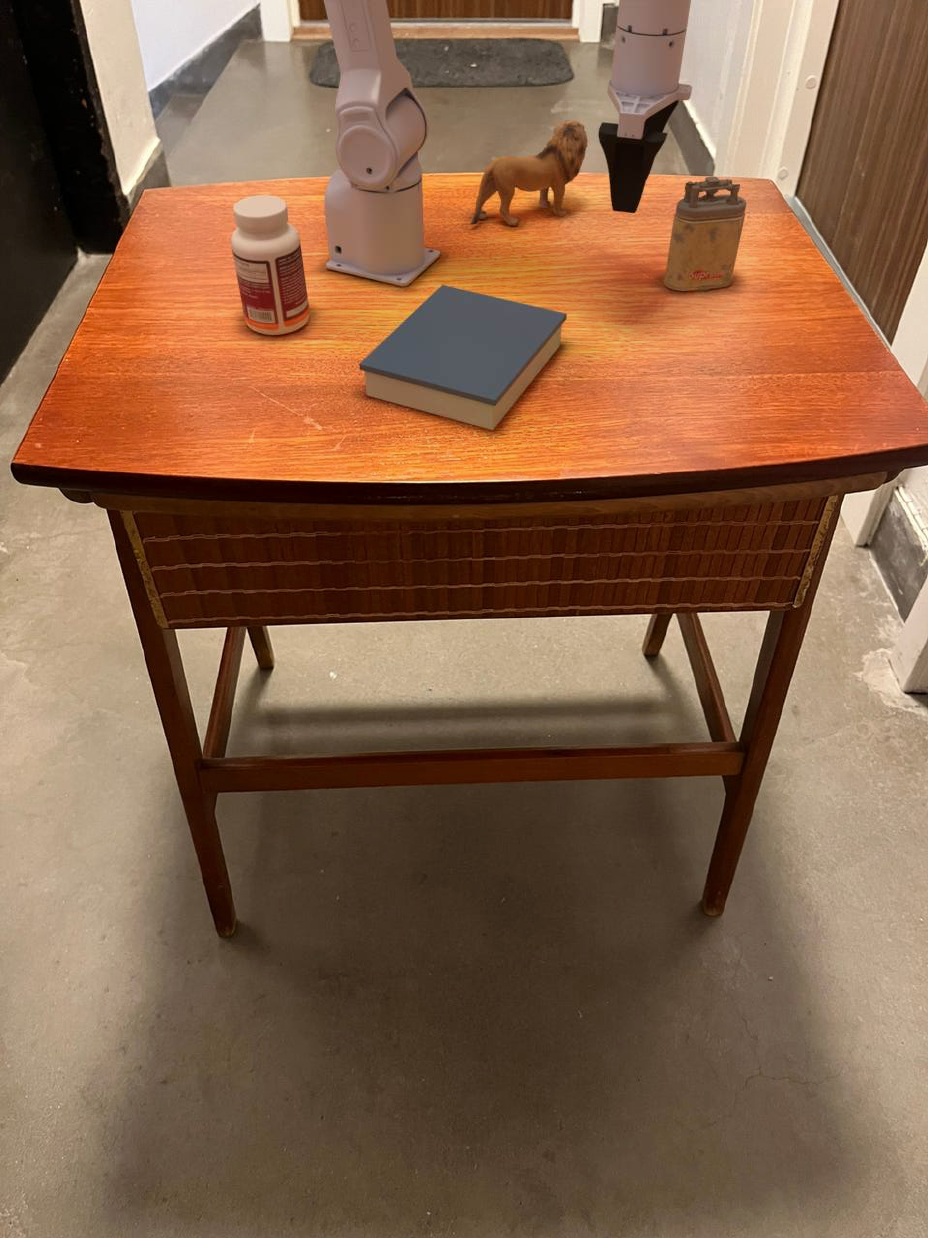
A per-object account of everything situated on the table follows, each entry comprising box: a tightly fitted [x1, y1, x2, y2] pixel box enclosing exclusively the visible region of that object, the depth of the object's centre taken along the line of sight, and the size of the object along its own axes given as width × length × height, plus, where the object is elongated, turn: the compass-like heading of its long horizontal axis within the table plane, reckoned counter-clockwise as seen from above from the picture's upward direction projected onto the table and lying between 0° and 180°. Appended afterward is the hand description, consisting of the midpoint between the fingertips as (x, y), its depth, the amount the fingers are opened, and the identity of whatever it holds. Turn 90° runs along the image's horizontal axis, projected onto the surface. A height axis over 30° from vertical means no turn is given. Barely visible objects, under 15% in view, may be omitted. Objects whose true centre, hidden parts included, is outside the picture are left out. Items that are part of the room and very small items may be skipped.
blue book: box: [358, 284, 568, 431], centre depth 86 cm, size 13×16×3 cm
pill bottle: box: [230, 194, 311, 336], centre depth 90 cm, size 6×6×11 cm
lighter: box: [662, 176, 747, 292], centre depth 96 cm, size 7×4×10 cm, turn 102°
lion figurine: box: [470, 119, 589, 227], centre depth 107 cm, size 15×5×9 cm, turn 122°
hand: (630, 193), depth 90 cm, fingers open, 7 cm apart
